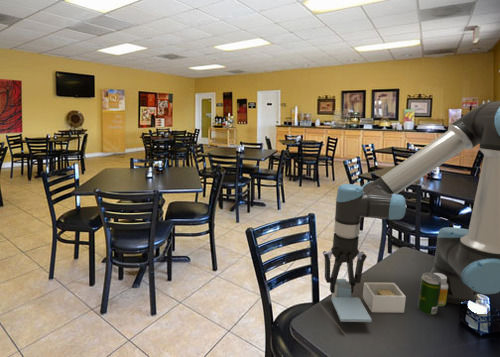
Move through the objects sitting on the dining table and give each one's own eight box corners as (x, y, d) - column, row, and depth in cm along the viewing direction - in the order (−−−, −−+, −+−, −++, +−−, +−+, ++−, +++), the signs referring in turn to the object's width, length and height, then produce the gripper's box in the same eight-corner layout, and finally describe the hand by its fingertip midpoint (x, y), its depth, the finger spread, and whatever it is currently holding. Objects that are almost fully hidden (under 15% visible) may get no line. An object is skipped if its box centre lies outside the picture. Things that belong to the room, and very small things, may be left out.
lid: (371, 322, 87) (372, 310, 87) (340, 321, 87) (341, 310, 87) (352, 289, 104) (353, 279, 103) (326, 288, 104) (327, 278, 103)
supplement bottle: (448, 308, 100) (452, 281, 98) (429, 306, 101) (433, 278, 99) (442, 299, 105) (446, 272, 103) (424, 297, 106) (428, 270, 104)
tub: (392, 299, 105) (394, 282, 104) (403, 314, 97) (405, 296, 96) (362, 298, 105) (364, 282, 104) (371, 313, 97) (373, 296, 96)
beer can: (440, 313, 98) (445, 278, 95) (430, 318, 95) (435, 283, 92) (423, 304, 102) (428, 270, 100) (413, 309, 100) (418, 274, 97)
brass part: (386, 300, 103) (388, 289, 102) (395, 307, 100) (396, 295, 99) (376, 301, 102) (377, 290, 101) (384, 309, 98) (385, 297, 98)
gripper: (368, 229, 101) (361, 295, 106) (317, 229, 101) (312, 294, 106) (377, 239, 94) (370, 308, 99) (322, 238, 94) (317, 307, 99)
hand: (340, 301), depth 102 cm, fingers closed on lid, 3 cm apart
